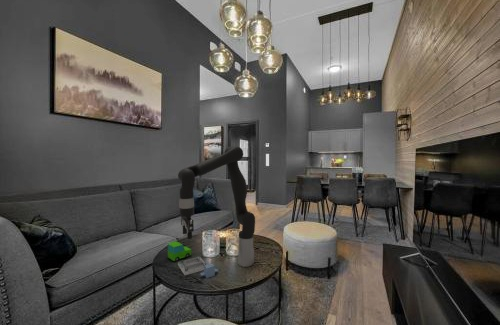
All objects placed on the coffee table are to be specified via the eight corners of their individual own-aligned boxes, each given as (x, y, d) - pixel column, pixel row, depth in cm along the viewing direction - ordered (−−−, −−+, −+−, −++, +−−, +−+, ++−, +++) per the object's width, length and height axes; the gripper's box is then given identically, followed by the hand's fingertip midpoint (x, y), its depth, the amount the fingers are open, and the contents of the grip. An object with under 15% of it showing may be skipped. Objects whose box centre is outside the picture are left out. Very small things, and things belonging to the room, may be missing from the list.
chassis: (199, 259, 141) (199, 254, 141) (207, 268, 129) (207, 263, 129) (177, 265, 133) (178, 259, 133) (184, 275, 121) (184, 269, 121)
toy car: (192, 256, 145) (193, 242, 145) (174, 263, 135) (174, 247, 135) (184, 252, 152) (185, 238, 152) (166, 258, 142) (167, 243, 142)
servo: (216, 271, 126) (216, 262, 126) (218, 274, 123) (218, 264, 123) (199, 276, 121) (199, 266, 121) (202, 279, 118) (202, 269, 118)
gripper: (198, 208, 111) (198, 239, 111) (189, 203, 123) (189, 231, 123) (183, 210, 107) (184, 242, 107) (176, 204, 119) (176, 233, 119)
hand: (187, 236), depth 115 cm, fingers open, 8 cm apart
